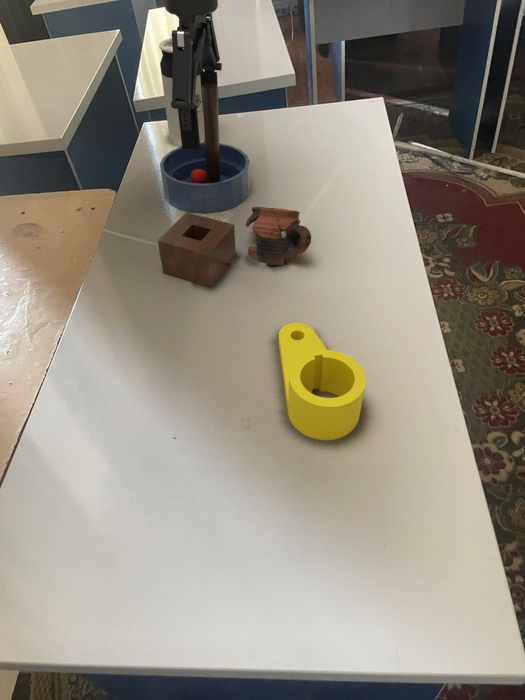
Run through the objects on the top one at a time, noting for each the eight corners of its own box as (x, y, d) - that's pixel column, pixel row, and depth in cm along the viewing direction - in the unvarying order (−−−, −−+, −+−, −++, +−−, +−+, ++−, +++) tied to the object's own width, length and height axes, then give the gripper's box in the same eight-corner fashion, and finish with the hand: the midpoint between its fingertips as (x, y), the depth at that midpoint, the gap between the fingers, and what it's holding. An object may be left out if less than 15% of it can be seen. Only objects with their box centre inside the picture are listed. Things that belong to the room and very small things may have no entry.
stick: (204, 191, 100) (198, 86, 87) (212, 185, 102) (208, 81, 89) (215, 195, 100) (211, 90, 87) (223, 189, 101) (220, 85, 88)
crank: (369, 432, 65) (377, 398, 60) (299, 446, 63) (301, 413, 59) (321, 327, 77) (325, 292, 73) (261, 337, 76) (261, 303, 71)
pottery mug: (230, 259, 89) (234, 204, 86) (268, 257, 96) (272, 207, 94) (292, 270, 81) (298, 211, 79) (328, 267, 89) (334, 213, 86)
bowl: (148, 205, 99) (142, 173, 95) (191, 166, 109) (188, 136, 104) (225, 225, 94) (223, 193, 90) (263, 183, 104) (263, 151, 100)
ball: (185, 180, 102) (189, 165, 100) (198, 180, 104) (202, 165, 102) (194, 190, 100) (199, 175, 98) (207, 189, 102) (212, 174, 100)
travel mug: (168, 131, 119) (156, 37, 106) (206, 128, 120) (198, 35, 107) (171, 148, 114) (158, 52, 101) (210, 145, 115) (203, 49, 102)
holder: (162, 274, 85) (157, 240, 81) (189, 244, 91) (186, 212, 86) (211, 288, 83) (207, 254, 79) (236, 257, 88) (234, 224, 84)
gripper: (193, 4, 69) (206, 167, 84) (234, -42, 86) (238, 100, 101) (133, 2, 70) (157, 163, 85) (186, -44, 87) (198, 97, 102)
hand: (201, 129), depth 93 cm, fingers open, 13 cm apart
